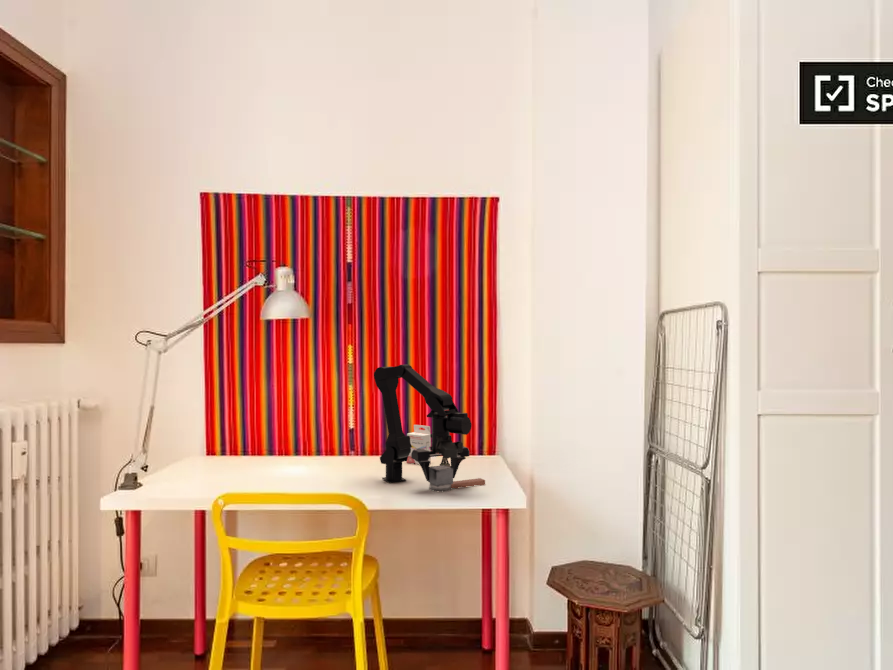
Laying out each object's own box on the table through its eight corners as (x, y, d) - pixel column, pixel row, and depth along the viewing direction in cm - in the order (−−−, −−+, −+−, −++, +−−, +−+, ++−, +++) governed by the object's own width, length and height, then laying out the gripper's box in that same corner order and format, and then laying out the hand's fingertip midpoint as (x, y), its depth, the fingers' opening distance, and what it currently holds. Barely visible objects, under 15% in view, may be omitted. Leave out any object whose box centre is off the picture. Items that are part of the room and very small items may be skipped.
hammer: (435, 492, 200) (435, 476, 200) (426, 487, 206) (426, 472, 206) (488, 486, 209) (488, 471, 209) (477, 481, 215) (477, 467, 215)
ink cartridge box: (406, 463, 246) (406, 425, 247) (413, 461, 251) (413, 424, 251) (424, 465, 242) (424, 427, 242) (431, 463, 246) (431, 425, 246)
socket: (428, 481, 206) (428, 466, 206) (444, 480, 209) (444, 465, 209) (436, 485, 201) (436, 470, 201) (453, 483, 204) (453, 468, 204)
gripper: (425, 437, 193) (425, 488, 193) (477, 433, 202) (477, 481, 202) (410, 432, 203) (410, 480, 203) (461, 428, 212) (461, 474, 212)
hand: (440, 479), depth 205 cm, fingers open, 9 cm apart
